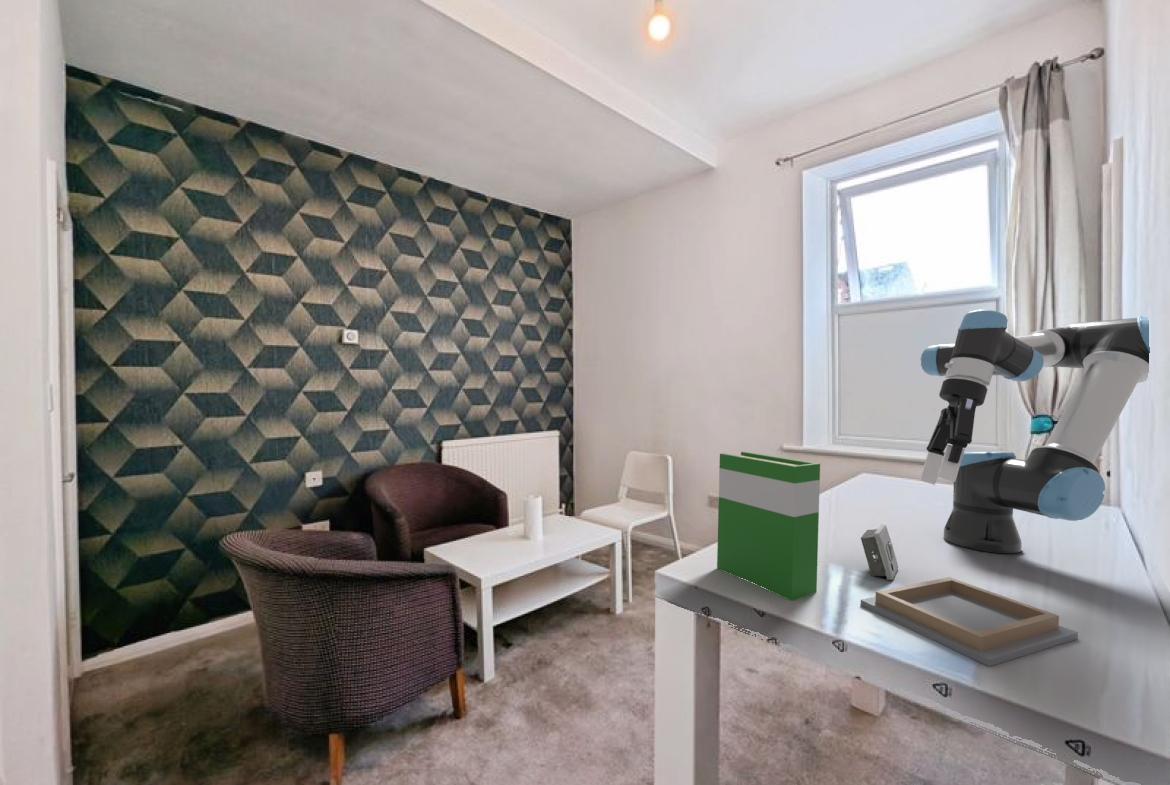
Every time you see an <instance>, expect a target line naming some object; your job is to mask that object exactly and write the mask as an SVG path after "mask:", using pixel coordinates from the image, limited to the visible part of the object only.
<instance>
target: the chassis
mask: <svg viewBox="0 0 1170 785" xmlns="http://www.w3.org/2000/svg"><path fill="white" fill-rule="evenodd" d="M860 606H861V607H863V608H865V609H867V610H870V611H871V612H873V613H875V614H877V615H880V616H882V617H884V618H886V619H889V620H890V621H892V622H894V623H896V624H899V625H901V626H903V627H905V628H907V629H909V630H911V631H913V632H916V633H917V634H920V635H922V636H924V637H926V638H928V639H931V640H932V641H935V642H936V643H939V644H941V645H943V646H945V647H947V648H949V649H951V650H953V651H956V652H958V653H960V654H961V655H963V656H966V657H967V658H971V659H973V660H974V661H977V662H978V663H981V665H982V664H983V665H984V666H987V667H993V666H995V665H999V664H1002V663H1005V662H1008V661H1011V660H1014V659H1018V658H1021V657H1025V656H1028V655H1031V654H1034V653H1037V652H1040V651H1043V650H1046V649H1050V648H1053V647H1056V646H1055V645H1057V646H1059V645H1058V644H1060V643H1063V644H1065V643H1064V642H1066V643H1068V642H1067V641H1069V642H1072V641H1075V639H1076V640H1078V639H1079V632H1078V631H1075V630H1072V629H1070V628H1068V627H1064V626H1061V625H1060V615H1058V614H1055V613H1053V612H1050V611H1048V610H1047V611H1046V610H1043V609H1041V608H1038V607H1035V606H1032V605H1030V604H1027V603H1024V602H1022V601H1018V600H1015V599H1012V598H1010V597H1008V596H1007V597H1006V596H1004V595H1002V594H998V593H996V592H994V591H989V590H988V589H985V588H982V587H979V586H976V585H973V584H969V583H967V582H965V581H963V580H962V581H961V580H958V579H956V578H952V577H950V576H948V577H942V578H937V579H931V580H928V581H922V582H918V583H917V582H916V583H913V584H908V585H903V586H902V585H901V586H896V587H891V588H886V589H881V590H877V591H876V590H875V596H872V597H868V598H863V599H860ZM1060 645H1061V644H1060ZM1052 646H1053V647H1052ZM1049 647H1050V648H1049Z"/></svg>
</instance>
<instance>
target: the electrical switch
mask: <svg viewBox="0 0 1170 785" xmlns="http://www.w3.org/2000/svg"><path fill="white" fill-rule="evenodd" d="M860 541H861V545H862V548H863V551H864V554H865V558H866V561H867V566H868V568H869V572H870V575H871V576H870V577H886V580H887V581H893V580H894V578H895V575H896V574H897V572H898V569H899V565H898V561H897V557H896V554H895V550H894V547H893V543H892V540H891V537H890V534H889V531H888V527H887V525H886V524H880V526H879V527H878V528H874V529H867V530H866V531H865V532H863V534H862V536H861V537H860Z"/></svg>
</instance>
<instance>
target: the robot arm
mask: <svg viewBox="0 0 1170 785" xmlns="http://www.w3.org/2000/svg"><path fill="white" fill-rule="evenodd" d="M1148 317H1149V316H1142V315H1140V316H1138V317H1131V318H1130V317H1129V318H1119V319H1107V320H1095V321H1094V320H1093V321H1083V322H1076V323H1070V324H1066V325H1065V324H1064V325H1061V326H1056V327H1053V328H1045V329H1040V330H1036V331H1032V332H1031V333H1029V334H1027V335H1023V336H1012V335H1011V334H1010V333H1009V332H1007V331H1006V330H1007V329H1008V322H1009V321H1008V320H1009V319H1008V316H1006V315H1005V314H1004V313H1003V312H999V311H996V310H992V309H976V310H971V311H969V312H966V313H965V314H964V315H963V317H962V321H961V323H960V325H959V327H958V328H957V335H956V338H955V342H954V343H948V344H942V343H941V344H935V345H930V346H927V347H926V348H924V350H923V351H922V353H921V354H920V355H921V356H920V366H921V368H922V370H923V372H924V373H925V374H927V375H929V376H934V377H935V376H938V377H944V380H943V382H942V384H941V388H940V389H939V390H940V391H939V394H938V395H939V397H940V398H941V399H942V400H943V401H946V402H948V405H947V407H944V408H942V409H941V411H940V416H939V418H938V421H937V424H936V426H935V428H934V431H933V433H932V435H931V437H930V440H929V442H928V445H927V446H926V451H927V454H926V458H925V461H924V465H923V468H922V472H921V474H920V478H919V481H920V482H924V483H927V484H930V485H933V486H934V485H936V482H937V479H938V478H940V479H943V480H947V481H951V482H952V483H953V491H952V492H953V495H952V496H953V498H952V510H951V513H949V514H950V515H949V517H948V519H947V521H946V523H945V525H944V527H943V539H944V540H945V541H947V542H949V543H952V544H954V545H955V546H959V547H963V548H967V549H972V550H975V551H976V550H977V551H980V552H987V553H995V554H1018V553H1020V552H1021V551H1022V546H1023V545H1022V543H1023V542H1022V539H1021V536H1020V533H1019V530H1018V528H1017V525H1016V523H1015V520H1014V510H1017V511H1022V512H1025V513H1026V512H1028V513H1029V514H1030V513H1031V514H1035V515H1039V516H1044V517H1047V518H1049V519H1053V520H1054V519H1055V520H1065V521H1073V522H1075V521H1076V522H1077V521H1081V520H1085V519H1087V518H1089V517H1090V516H1092V515H1093V514H1094V513H1096V511H1097V510H1099V508H1101V505H1102V503H1103V501H1104V499H1105V494H1104V492H1105V491H1106V483H1105V480H1104V478H1103V477H1102V475H1101V474H1100V468H1099V467H1098V465H1097V464H1096V463H1095V462H1096V460H1097V458H1098V457H1099V454H1100V452H1101V451H1102V449H1103V447H1104V445H1105V443H1106V442H1107V439H1108V438H1109V436H1110V434H1111V432H1112V430H1113V428H1114V427H1115V425H1116V423H1117V421H1118V419H1119V418H1120V416H1121V414H1122V412H1123V410H1124V408H1125V407H1126V405H1127V403H1128V401H1129V399H1130V397H1131V395H1132V394H1133V392H1134V390H1135V388H1136V386H1137V384H1139V383H1143V382H1146V381H1148V380H1147V378H1148V373H1149V353H1150V347H1149V320H1148ZM1048 367H1049V368H1052V367H1053V368H1074V369H1085V370H1086V372H1085V373H1084V375H1083V377H1082V379H1081V380H1080V382H1079V384H1078V386H1077V388H1076V389H1075V391H1074V393H1073V395H1072V396H1071V398H1070V400H1069V402H1068V404H1067V406H1066V407H1065V408H1064V410H1063V412H1062V414H1061V416H1060V417H1059V419H1058V421H1057V423H1056V425H1055V427H1054V428H1053V430H1052V432H1051V434H1050V436H1049V438H1048V439H1047V441H1046V442H1045V444H1044V445H1042V446H1041V445H1040V446H1036V447H1033V449H1032V450H1031V452H1030V454H1029V455H1028V457H1027V458H1026V459H1019V458H1017V456H1016V455H1015V452H1013V451H965V450H966V448H967V447H968V445H970V444H971V443H972V442H973V432H974V423H975V417H976V414H975V413H976V409H977V407H980V406H982V405H983V404H984V402H985V400H986V396H987V393H988V391H989V390H988V388H987V387H988V386H990V384H991V381H992V378H993V376H1000V377H1003V378H1005V379H1007V380H1011V381H1013V382H1019V383H1020V382H1026V381H1029V380H1031V379H1033V378H1035V377H1036V376H1038V375H1039V374H1040V372H1041V371H1042V369H1043V368H1048Z"/></svg>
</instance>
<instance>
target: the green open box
mask: <svg viewBox="0 0 1170 785" xmlns="http://www.w3.org/2000/svg"><path fill="white" fill-rule="evenodd" d="M718 469H719V473H718V475H719V476H718V477H719V478H718V479H719V480H718V512H717V513H718V515H717V521H718V522H717V550H716V551H717V552H716V553H717V556H716V559H717V560H716V562H717V563H716V568H718V569H717V570H720V569H721V570H720V571H722V570H723V572H724V571H726V572H725V573H727V572H728V573H727V574H729V573H731V574H733V575H732V576H734V575H735V576H734V577H736V576H738V577H740V578H743V579H746V580H748V581H750V582H753V583H755V584H757V585H759V586H762V587H764V588H766V589H768V590H770V591H773V592H775V593H777V594H779V595H778V596H780V595H781V596H780V597H782V596H783V597H782V598H784V597H786V598H785V599H787V598H788V599H787V600H789V599H790V600H789V601H791V600H792V601H795V600H797V599H801V598H803V596H804V597H806V595H807V596H809V594H810V595H812V594H814V592H815V593H817V591H818V590H817V588H818V587H817V586H818V585H817V584H818V582H817V581H818V551H819V550H818V549H819V517H820V516H819V515H820V488H821V487H820V483H821V482H820V479H821V463H819V462H811V461H805V460H799V459H794V458H793V459H792V458H786V457H780V456H774V455H768V454H761V453H755V452H749V451H740V455H734V454H733V455H732V454H728V453H719V468H718ZM731 574H730V575H731ZM738 577H737V578H738ZM740 578H739V579H740ZM743 579H742V580H743ZM750 582H749V583H750ZM757 585H756V586H757ZM759 586H758V587H759ZM764 588H763V589H764ZM766 589H765V590H766ZM768 590H767V591H768ZM770 591H769V592H770ZM773 592H772V593H773ZM775 593H774V594H775ZM811 593H812V594H811ZM777 594H776V595H777ZM800 597H801V598H800ZM794 599H795V600H794Z"/></svg>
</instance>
